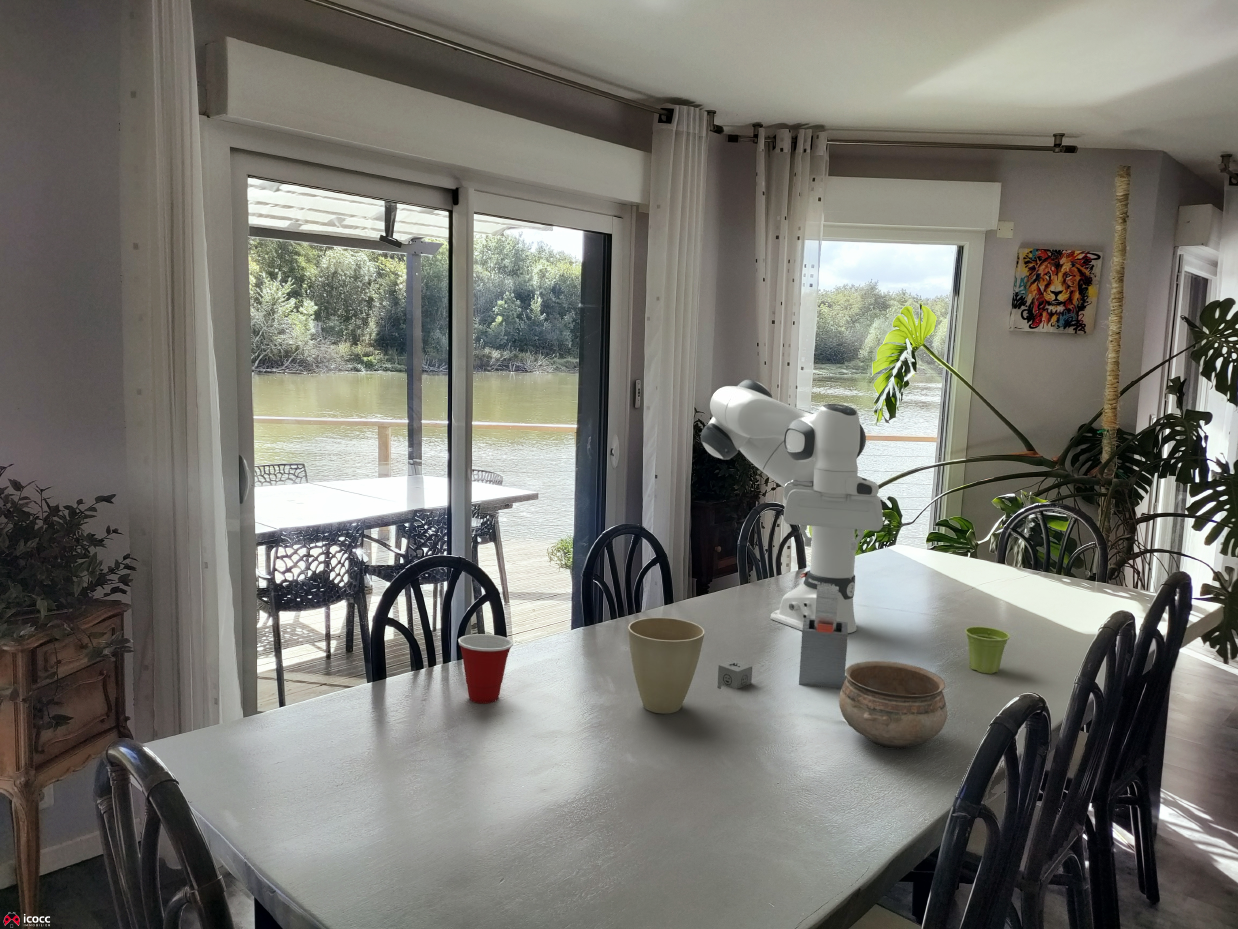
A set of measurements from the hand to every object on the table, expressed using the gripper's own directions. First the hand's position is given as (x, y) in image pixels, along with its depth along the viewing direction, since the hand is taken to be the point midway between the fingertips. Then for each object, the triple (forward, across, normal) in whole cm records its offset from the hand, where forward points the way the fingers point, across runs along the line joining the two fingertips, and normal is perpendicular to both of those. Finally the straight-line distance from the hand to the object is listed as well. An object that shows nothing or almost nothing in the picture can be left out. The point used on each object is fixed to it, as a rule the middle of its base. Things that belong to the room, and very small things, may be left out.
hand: (830, 548), depth 189 cm
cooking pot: (+30, +13, -25) cm, 41 cm away
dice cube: (+30, -18, -8) cm, 36 cm away
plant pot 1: (+30, -30, -23) cm, 48 cm away
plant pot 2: (+30, +36, +23) cm, 52 cm away
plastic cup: (+30, -65, -30) cm, 77 cm away
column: (+29, 0, 0) cm, 29 cm away
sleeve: (+30, 0, 0) cm, 30 cm away
